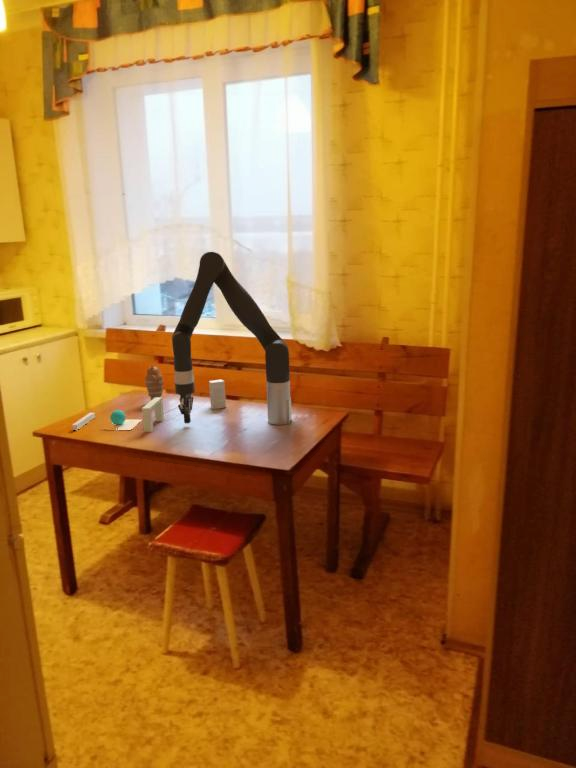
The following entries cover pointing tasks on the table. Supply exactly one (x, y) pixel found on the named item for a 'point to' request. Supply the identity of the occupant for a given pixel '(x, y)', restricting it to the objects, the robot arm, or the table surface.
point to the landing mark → (127, 424)
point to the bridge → (147, 413)
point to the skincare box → (217, 394)
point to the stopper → (83, 421)
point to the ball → (118, 417)
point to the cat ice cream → (154, 382)
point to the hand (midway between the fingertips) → (187, 422)
